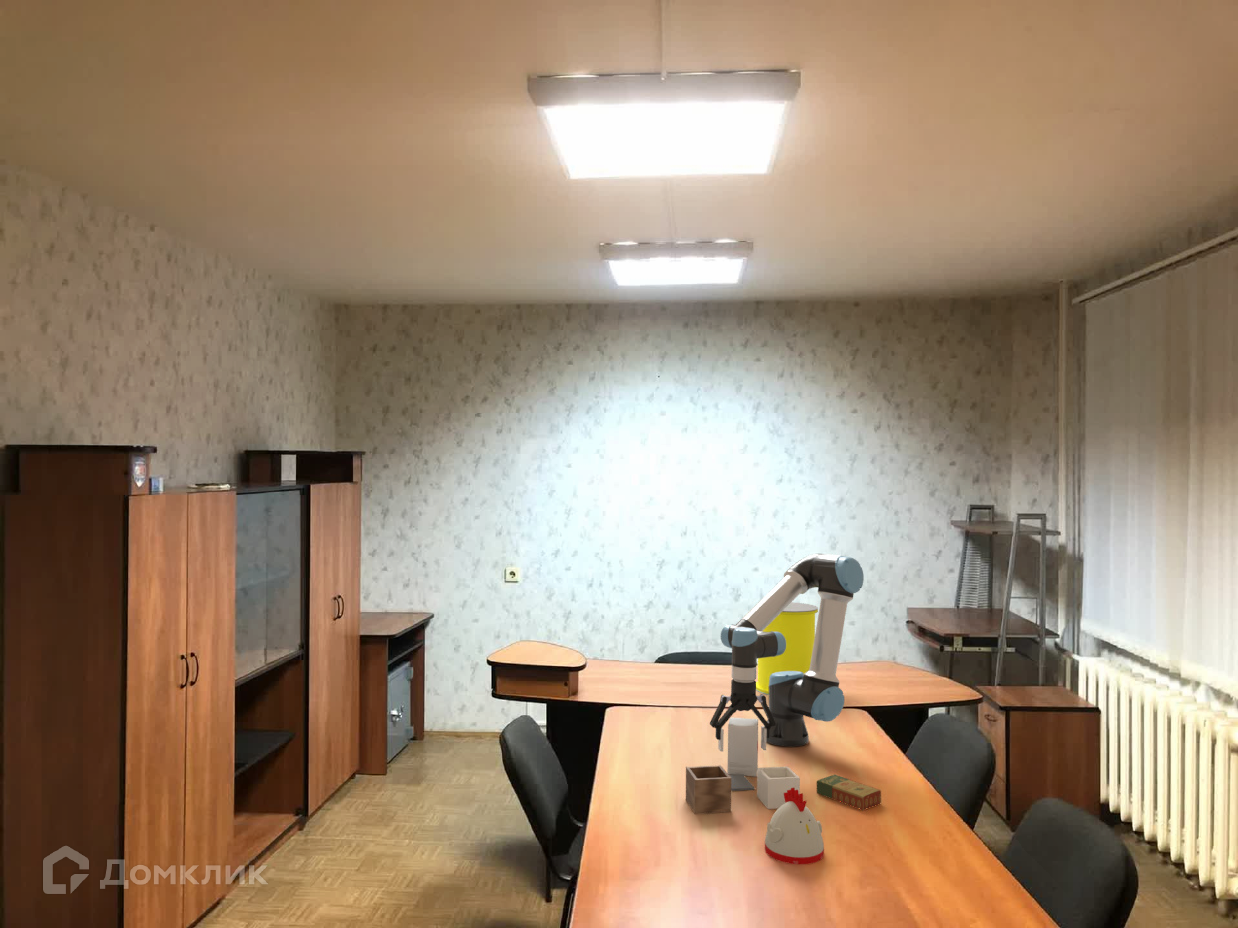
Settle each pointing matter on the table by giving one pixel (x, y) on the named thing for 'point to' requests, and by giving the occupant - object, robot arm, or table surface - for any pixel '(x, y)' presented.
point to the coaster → (740, 783)
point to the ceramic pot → (775, 785)
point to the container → (790, 643)
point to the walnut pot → (708, 789)
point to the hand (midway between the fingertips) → (742, 749)
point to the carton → (849, 791)
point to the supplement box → (743, 746)
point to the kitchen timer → (794, 832)
